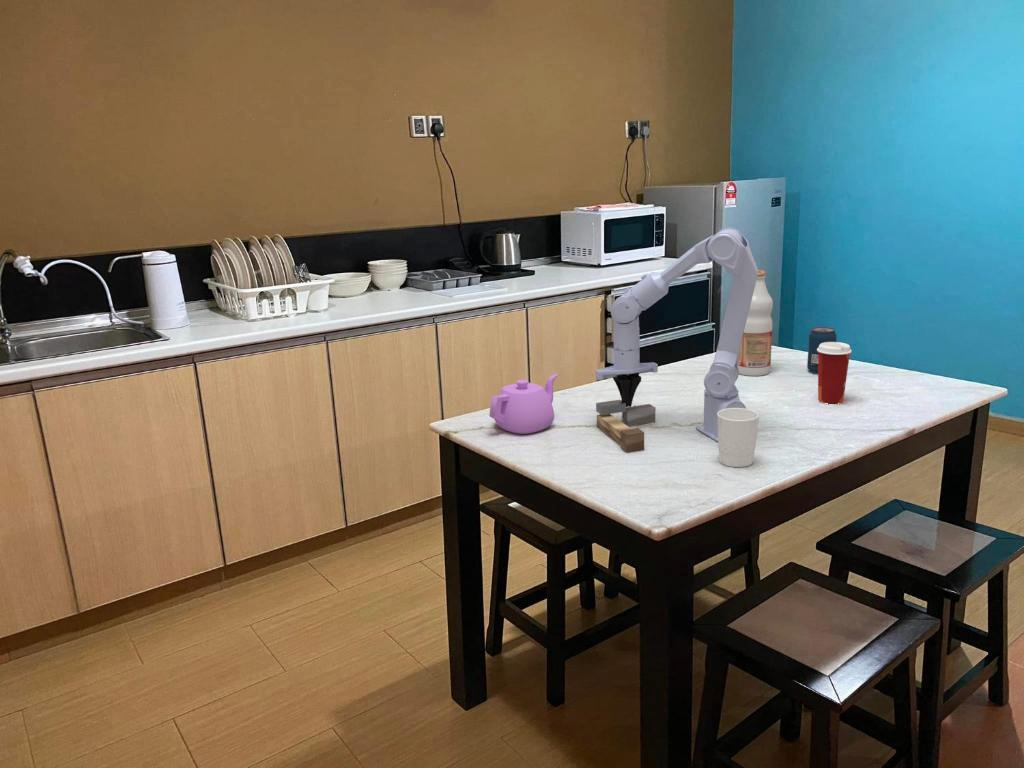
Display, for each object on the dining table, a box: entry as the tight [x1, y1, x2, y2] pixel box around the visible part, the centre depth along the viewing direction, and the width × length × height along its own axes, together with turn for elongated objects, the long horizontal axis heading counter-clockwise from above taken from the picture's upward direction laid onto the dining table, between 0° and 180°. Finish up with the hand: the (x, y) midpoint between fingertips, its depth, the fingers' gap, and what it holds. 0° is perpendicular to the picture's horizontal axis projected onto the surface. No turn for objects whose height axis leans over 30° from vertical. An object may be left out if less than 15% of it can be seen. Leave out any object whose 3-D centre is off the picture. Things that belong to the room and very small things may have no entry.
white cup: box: [717, 408, 760, 468], centre depth 157 cm, size 8×8×10 cm
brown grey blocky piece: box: [596, 403, 656, 454], centre depth 175 cm, size 18×14×4 cm
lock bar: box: [595, 399, 626, 415], centre depth 180 cm, size 3×6×2 cm, turn 107°
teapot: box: [488, 373, 559, 435], centre depth 183 cm, size 13×20×11 cm
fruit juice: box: [737, 269, 774, 377], centre depth 214 cm, size 9×9×28 cm
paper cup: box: [817, 341, 853, 405], centre depth 189 cm, size 8×8×14 cm
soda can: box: [806, 326, 837, 375], centre depth 213 cm, size 7×7×12 cm
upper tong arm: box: [596, 414, 632, 439], centre depth 174 cm, size 14×3×2 cm, turn 17°
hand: (626, 405), depth 181 cm, fingers closed
